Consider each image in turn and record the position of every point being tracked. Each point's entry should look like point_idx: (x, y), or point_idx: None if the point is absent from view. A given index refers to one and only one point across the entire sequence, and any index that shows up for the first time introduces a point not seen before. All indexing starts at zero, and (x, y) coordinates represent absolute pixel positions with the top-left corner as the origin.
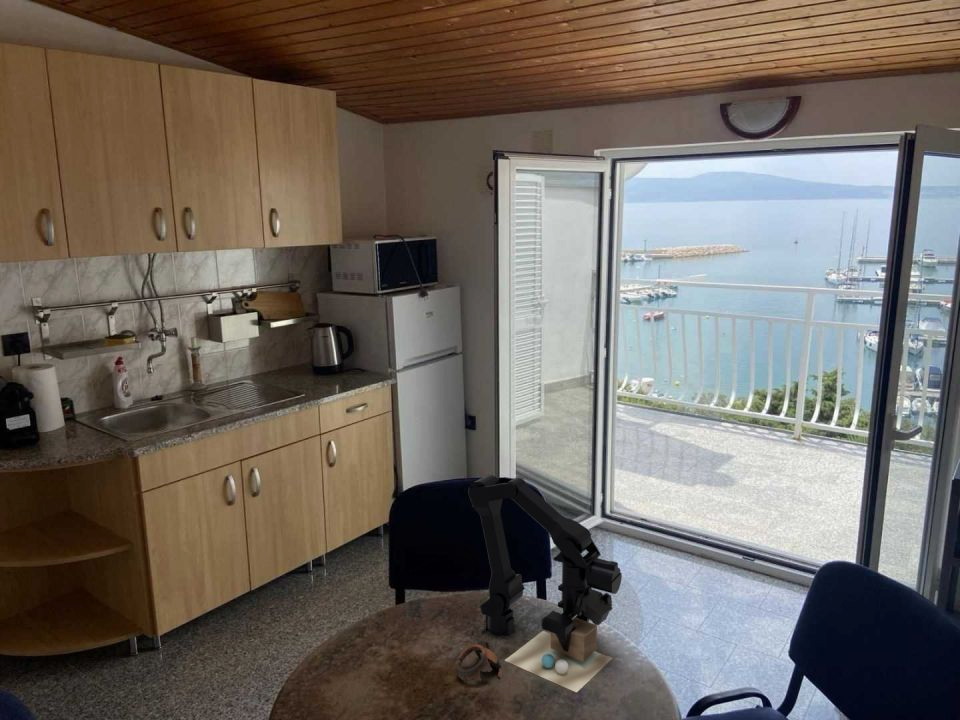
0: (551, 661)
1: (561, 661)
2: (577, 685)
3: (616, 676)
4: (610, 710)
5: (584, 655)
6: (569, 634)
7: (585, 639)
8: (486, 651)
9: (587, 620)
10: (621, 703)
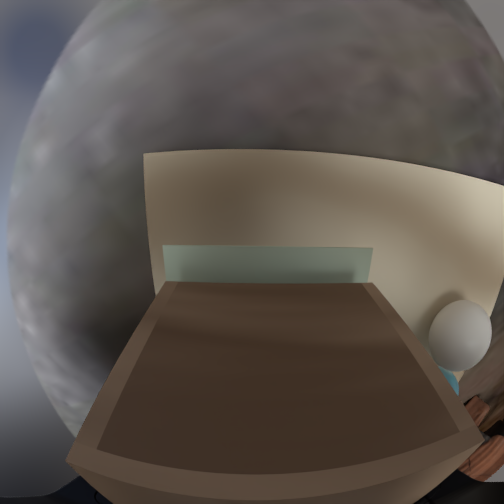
0: (453, 382)
1: (484, 352)
2: (495, 208)
3: (280, 60)
4: (492, 45)
5: (365, 301)
6: (448, 489)
7: (419, 412)
8: (489, 467)
9: (100, 498)
10: (443, 7)
